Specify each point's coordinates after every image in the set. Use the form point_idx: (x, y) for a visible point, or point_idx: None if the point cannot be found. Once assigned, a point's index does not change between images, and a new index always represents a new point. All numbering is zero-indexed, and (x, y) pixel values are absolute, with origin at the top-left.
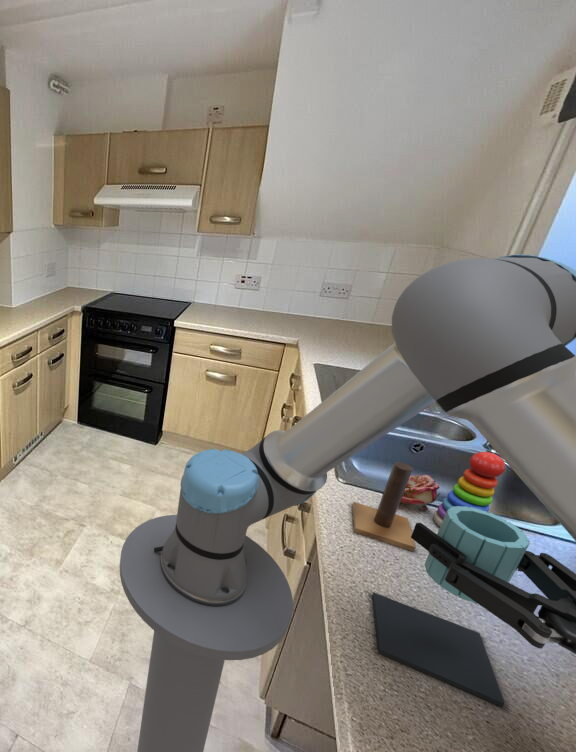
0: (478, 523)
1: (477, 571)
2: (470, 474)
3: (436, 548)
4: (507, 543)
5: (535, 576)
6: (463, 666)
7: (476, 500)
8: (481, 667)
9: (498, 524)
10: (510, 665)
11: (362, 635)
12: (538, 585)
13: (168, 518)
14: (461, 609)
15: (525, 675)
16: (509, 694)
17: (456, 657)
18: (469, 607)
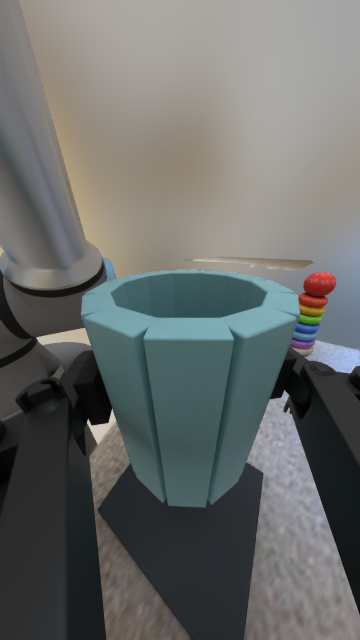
0: (215, 303)
1: (19, 460)
2: (303, 296)
3: (74, 360)
4: (169, 322)
5: (320, 456)
6: (205, 552)
7: (306, 319)
8: (235, 555)
9: (244, 292)
10: (291, 540)
11: (105, 476)
12: (326, 499)
13: (54, 345)
14: (259, 431)
15: (310, 568)
16: (265, 635)
17: (205, 528)
18: (270, 428)
